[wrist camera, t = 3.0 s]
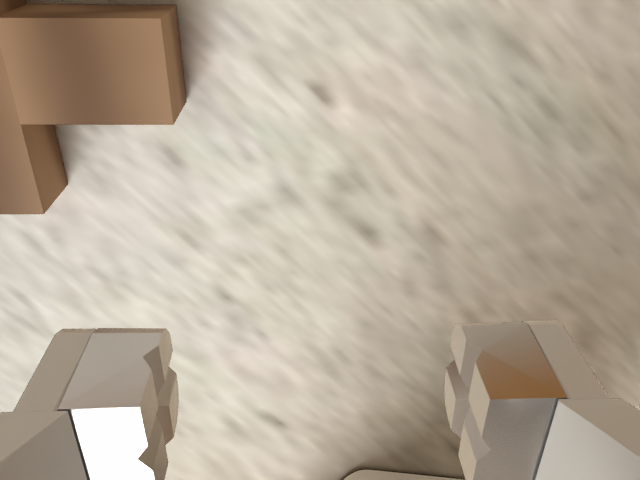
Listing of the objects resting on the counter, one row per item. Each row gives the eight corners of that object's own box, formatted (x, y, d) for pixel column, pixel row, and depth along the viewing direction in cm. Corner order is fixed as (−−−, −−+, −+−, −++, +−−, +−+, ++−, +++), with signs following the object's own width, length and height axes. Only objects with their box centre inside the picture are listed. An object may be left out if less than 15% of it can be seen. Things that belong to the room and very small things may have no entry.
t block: (163, -110, 22) (144, -110, 20) (195, 183, 28) (184, 213, 26) (-110, -112, 22) (-165, -112, 19) (-18, 184, 28) (-51, 214, 25)
